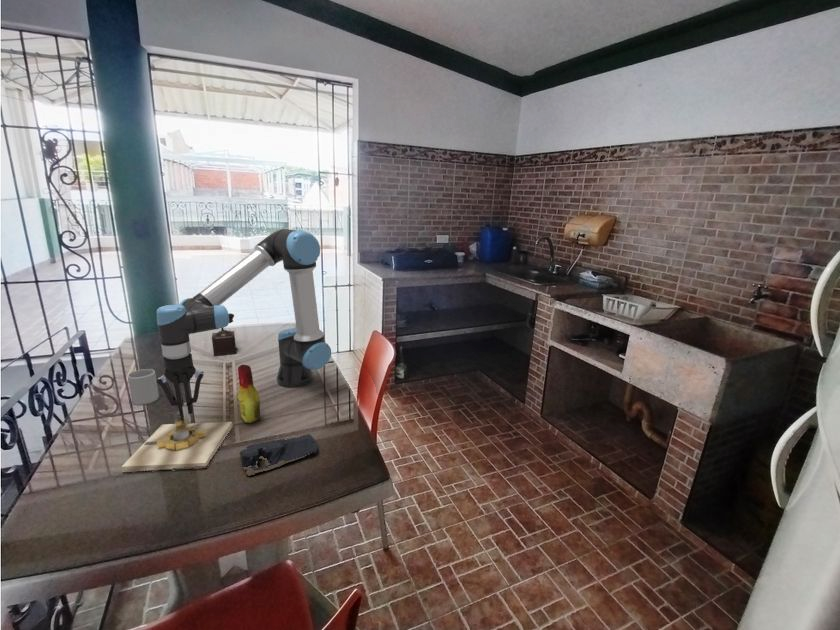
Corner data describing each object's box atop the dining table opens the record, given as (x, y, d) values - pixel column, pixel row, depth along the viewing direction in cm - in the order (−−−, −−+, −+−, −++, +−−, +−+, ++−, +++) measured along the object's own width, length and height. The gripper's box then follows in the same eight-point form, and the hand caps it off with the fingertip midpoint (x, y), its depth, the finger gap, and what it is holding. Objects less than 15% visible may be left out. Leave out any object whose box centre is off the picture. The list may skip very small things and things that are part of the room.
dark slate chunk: (322, 460, 117) (321, 446, 116) (242, 481, 107) (240, 466, 106) (311, 434, 130) (310, 421, 129) (239, 450, 120) (237, 437, 119)
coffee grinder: (238, 353, 197) (234, 319, 192) (213, 356, 192) (209, 321, 187) (237, 344, 210) (234, 312, 206) (214, 346, 206) (210, 313, 201)
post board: (232, 427, 132) (231, 413, 131) (206, 468, 111) (204, 453, 110) (163, 429, 129) (160, 416, 128) (122, 472, 108) (119, 457, 107)
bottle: (237, 412, 141) (232, 361, 136) (256, 408, 145) (251, 358, 139) (243, 428, 132) (238, 373, 126) (263, 422, 135) (258, 369, 130)
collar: (202, 419, 132) (200, 405, 131) (206, 442, 119) (204, 428, 118) (158, 428, 126) (156, 414, 124) (157, 454, 113) (155, 439, 111)
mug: (154, 403, 146) (150, 376, 143) (128, 406, 143) (123, 378, 141) (165, 389, 157) (161, 364, 154) (141, 391, 155) (136, 366, 152)
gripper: (202, 348, 126) (211, 413, 133) (155, 353, 121) (167, 420, 128) (199, 356, 120) (209, 424, 126) (150, 361, 115) (162, 432, 121)
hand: (188, 422), depth 127 cm, fingers closed
